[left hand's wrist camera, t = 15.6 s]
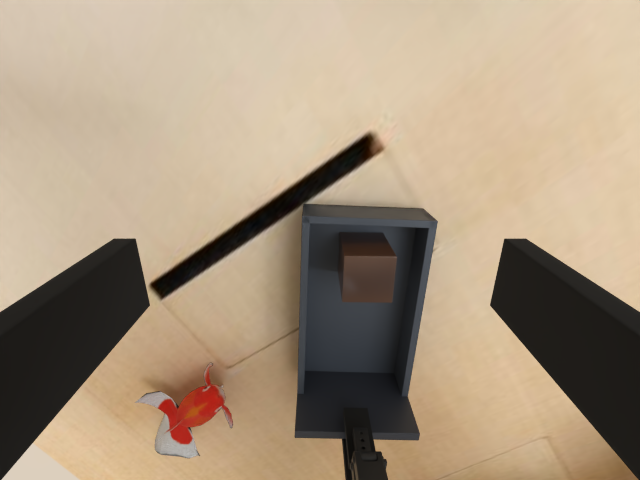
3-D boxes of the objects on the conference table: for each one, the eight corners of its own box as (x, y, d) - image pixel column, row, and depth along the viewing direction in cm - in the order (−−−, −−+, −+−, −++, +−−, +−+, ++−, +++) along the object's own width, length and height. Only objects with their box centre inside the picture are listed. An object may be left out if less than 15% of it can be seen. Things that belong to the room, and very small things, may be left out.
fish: (269, 433, 44) (208, 498, 35) (197, 430, 52) (134, 481, 44) (240, 355, 43) (172, 401, 35) (173, 364, 52) (105, 403, 44)
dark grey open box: (303, 203, 38) (299, 232, 29) (423, 208, 38) (458, 238, 29) (298, 372, 46) (294, 437, 37) (397, 375, 47) (418, 440, 37)
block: (339, 231, 38) (344, 256, 32) (383, 232, 39) (397, 256, 32) (337, 271, 40) (341, 302, 34) (379, 272, 40) (392, 303, 34)
